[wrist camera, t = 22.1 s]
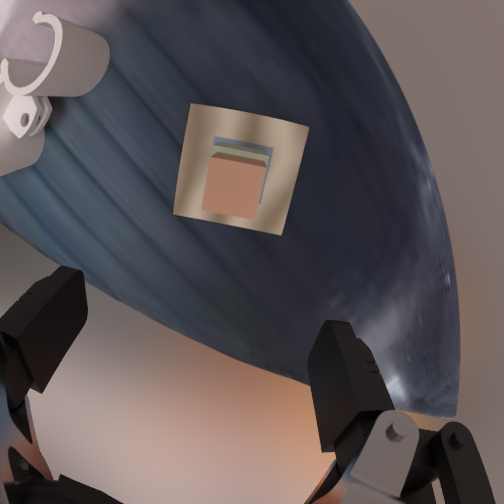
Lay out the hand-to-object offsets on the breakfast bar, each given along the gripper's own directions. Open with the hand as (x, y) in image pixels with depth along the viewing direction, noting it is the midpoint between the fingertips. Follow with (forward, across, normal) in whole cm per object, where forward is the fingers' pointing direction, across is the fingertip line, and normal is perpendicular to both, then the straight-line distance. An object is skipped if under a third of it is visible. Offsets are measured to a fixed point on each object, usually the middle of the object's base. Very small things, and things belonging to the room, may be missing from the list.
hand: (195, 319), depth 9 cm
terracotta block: (+23, 0, 0) cm, 23 cm away
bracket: (+30, +31, -7) cm, 44 cm away
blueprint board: (+30, 0, 0) cm, 30 cm away
